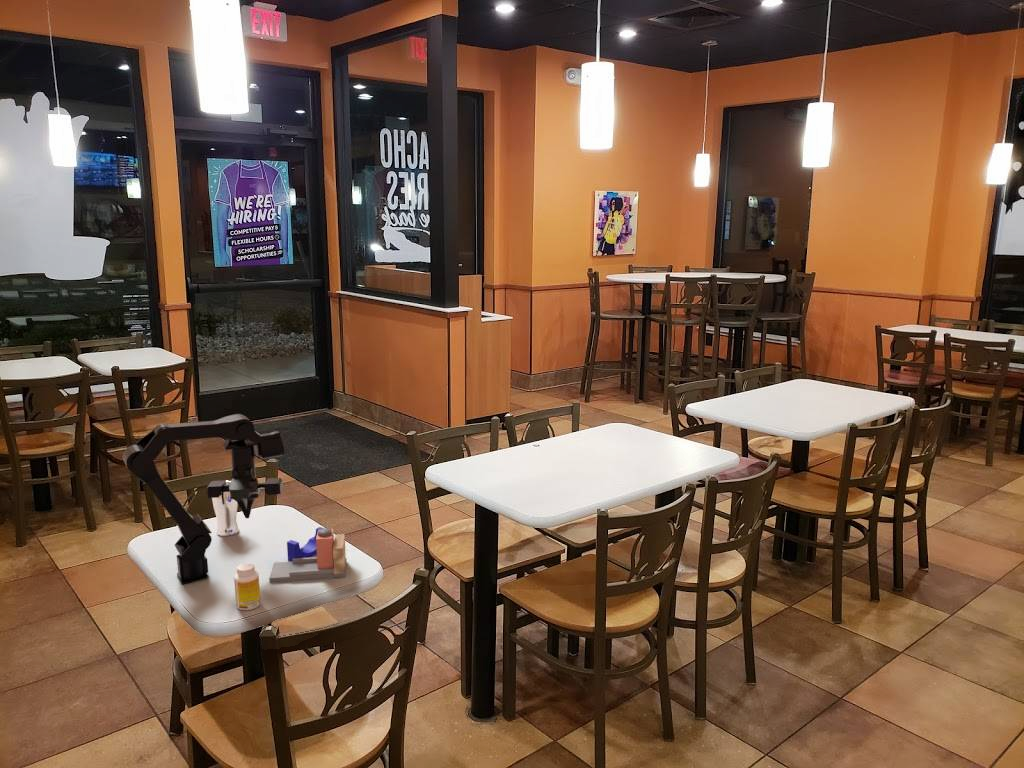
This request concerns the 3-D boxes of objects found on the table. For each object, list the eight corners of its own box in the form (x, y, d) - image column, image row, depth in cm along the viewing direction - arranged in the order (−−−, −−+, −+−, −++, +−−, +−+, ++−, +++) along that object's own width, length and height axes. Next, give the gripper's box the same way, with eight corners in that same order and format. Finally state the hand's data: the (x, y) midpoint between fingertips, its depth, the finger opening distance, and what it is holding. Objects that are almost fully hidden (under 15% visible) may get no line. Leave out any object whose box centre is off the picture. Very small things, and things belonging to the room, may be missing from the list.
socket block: (334, 573, 198) (332, 548, 197) (336, 558, 207) (335, 534, 205) (343, 573, 199) (342, 548, 197) (345, 557, 207) (344, 534, 206)
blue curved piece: (317, 545, 218) (316, 525, 217) (328, 549, 216) (327, 529, 215) (284, 560, 209) (283, 540, 207) (295, 565, 206) (294, 544, 205)
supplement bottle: (265, 605, 185) (262, 566, 183) (243, 613, 181) (240, 574, 179) (253, 597, 189) (250, 559, 186) (232, 605, 185) (228, 566, 182)
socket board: (269, 582, 196) (268, 574, 196) (274, 566, 205) (273, 559, 204) (344, 577, 199) (344, 569, 199) (346, 561, 208) (346, 554, 207)
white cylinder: (245, 530, 227) (241, 483, 224) (225, 539, 222) (221, 490, 218) (230, 525, 231) (226, 478, 228) (210, 533, 225) (206, 485, 222)
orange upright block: (317, 571, 199) (315, 536, 197) (319, 561, 205) (317, 527, 203) (333, 570, 200) (331, 535, 198) (334, 560, 205) (333, 526, 203)
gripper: (198, 474, 191) (204, 532, 195) (275, 470, 194) (279, 527, 198) (208, 460, 202) (213, 515, 206) (281, 457, 205) (285, 511, 209)
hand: (247, 517), depth 204 cm, fingers closed
